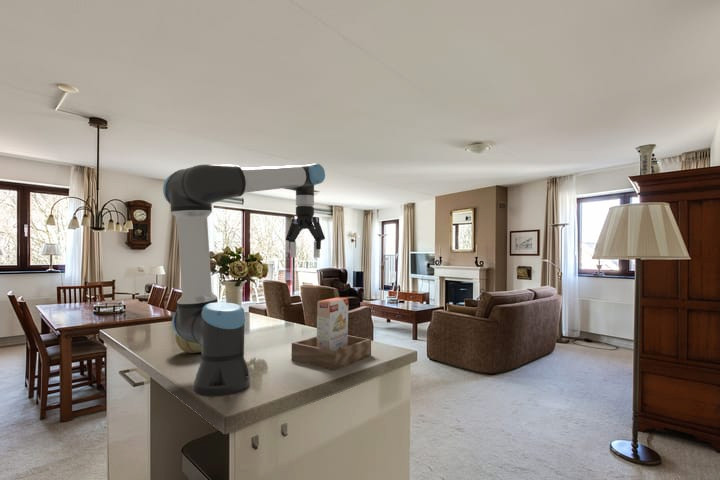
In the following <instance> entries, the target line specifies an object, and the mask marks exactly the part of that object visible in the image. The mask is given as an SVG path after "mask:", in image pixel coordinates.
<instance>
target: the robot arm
mask: <svg viewBox="0 0 720 480" xmlns="http://www.w3.org/2000/svg"><path fill="white" fill-rule="evenodd" d="M325 179H326V171H325V169H324V167H323V165H321V164H320V163H310V164H304V165H303V164H302V165H301V164H300V165H284V166H283V165H282V166H260V167H259V166H257V167H255V166H254V167H241V166H239V165H237V164H198V165H194V166H190V167H188V168H183V169H179V170H177V171H174V172H173V173H171V174H170V175H169V176H167V178H166V179H165V181H164V183H163V187H162V191H163V197H164V199H165V200H166V201H167V202H168V203H169V206H170V213H171V214H172V215H173V216H174V217H175V218H176V222H177V236H178V237H177V238H178V240H177V241H178V253H179V269H180V282H181V283H180V285H181V297H180V298H178V300H176V307H177V309H176V310H175V312H174V313H173V315H172V317H171V318H172V319H171V326H172V329H173V331H174V333H175V335H176V334H177V335H178V336H179V337H181V338H182V339H184V340H186V341H188V342H194V343H197V344H200V345H201V352H200V353H201V356H200V357H201V358H200V359H201V360H200V364H199V367H198V369H197V372H196V375H195V378H194V380H193V392H194V393H195V394H198V395H199V396H200V395H201V396H208V397H217V396H218V397H219V396H226V395H231V394H235V393H238V392H240V391H243V390H245V389H246V388H248V387H249V386H250V384H251V375H250V373H249V369H248V365H247V362H246V359H245V330H246V329H245V328H246V327H245V325H246V324H245V323H246V315H245V314H246V313H245V309H244V308H243V306H242V305H240V304H237V303H234V302H224V301H221V302H220V301H218V295H216V294H214V293H213V291H212V290H213V287H212V271H211V259H210V258H211V257H210V255H211V254H210V241H209V226H208V225H209V224H208V216H210V215H211V213H213V207H212V204H214V203H218V202H221V201H224V200H228V199H232V198H237V197H242V196H244V194H245V193H253V192H262V191H263V192H264V191H270V190H280V189H283V190H290V191H295V215H296V218H291V219H290V225H289V228H288V232H287V235H286V237H285V241H287V242H289V243H288V245H289V248H288V249H289V257H290V258H296V257H297V242H296V241H297V238H298V236H299V235H300V233H301V231H303V230H306V229H307V230H308V231H309V233H310V234H311V236H312V237H313V240H314V241H313V258H319V259H320V258H321V257H320V256H321V253H320V252H321V251H320V250H321V249H322V247H321V246H322V241H323V240H324V241H325V240H326V237H325V234H324V231H323V228H322V226H321V224H320V223H321V222H320V218H319V217H318V216H314V215H315V208H314V205H315V185H320V184H322V183H323V182H324V181H325Z"/></svg>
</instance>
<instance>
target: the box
mask: <svg viewBox="0 0 720 480" xmlns="http://www.w3.org/2000/svg"><path fill="white" fill-rule="evenodd" d="M316 346H317V335H316V336H312V337H309V338H305V339H301V340H298V341H295V342H291V360H292V361H295V362H298V363H299V362H300V363H302V364H303V363H304V364H308V365H311V366H315V367H319V368H323V369H327V370H330V371H336V370H338V368H339V369H341V368H343V367H345V365H346V366H348V365H351V364H353V363H355V362H358V361H360V359H361V360H363V359H365V358H368V357H370V356H372V338H367V337H359V336H356V335H349V334H348V346H346V347H344V348H341V349H338V350H335V351H332V350H328V349H323V348H318V347H316ZM350 363H351V364H350ZM340 367H341V368H340Z"/></svg>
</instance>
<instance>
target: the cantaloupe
mask: <svg viewBox="0 0 720 480" xmlns="http://www.w3.org/2000/svg"><path fill="white" fill-rule="evenodd" d="M174 337H175V342H176V344H177V346H178V347H179V349H180V350H182V352H185V353H188V354H198V353H201V345H200V344H197V343H194V342H188V341H186V340H184V339H182V338H181V337H179V336H178V335H177V334H176V333H175V336H174Z"/></svg>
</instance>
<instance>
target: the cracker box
mask: <svg viewBox="0 0 720 480" xmlns="http://www.w3.org/2000/svg"><path fill="white" fill-rule="evenodd" d="M316 308H317V309H316V312H317V313H316V336H317V346H316V347H318V348H323V349H328V350H332V351H335V350H338V349H341V348H344V347H346V346H348V335H349V298H346V297H333V298H327V299H323V300H318V301H317V305H316Z"/></svg>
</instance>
